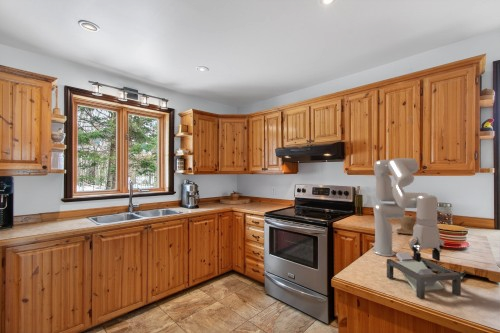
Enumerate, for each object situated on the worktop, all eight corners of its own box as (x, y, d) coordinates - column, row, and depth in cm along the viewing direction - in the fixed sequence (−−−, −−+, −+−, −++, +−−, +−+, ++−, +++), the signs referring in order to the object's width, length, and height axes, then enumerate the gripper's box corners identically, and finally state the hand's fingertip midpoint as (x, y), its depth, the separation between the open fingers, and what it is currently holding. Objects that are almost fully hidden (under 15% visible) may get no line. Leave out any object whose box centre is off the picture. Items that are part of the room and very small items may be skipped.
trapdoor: (388, 255, 120) (390, 252, 118) (412, 254, 122) (414, 251, 120) (414, 292, 104) (416, 289, 103) (442, 289, 106) (444, 287, 105)
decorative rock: (469, 276, 110) (429, 265, 119) (468, 288, 111) (428, 277, 120) (465, 261, 125) (430, 252, 134) (464, 272, 125) (429, 262, 135)
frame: (386, 277, 117) (386, 259, 117) (421, 274, 120) (421, 257, 120) (420, 299, 98) (420, 277, 98) (460, 295, 100) (460, 274, 100)
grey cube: (415, 275, 109) (420, 269, 106) (424, 275, 110) (429, 268, 107) (423, 286, 105) (428, 279, 102) (432, 285, 106) (438, 279, 103)
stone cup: (413, 232, 197) (413, 214, 197) (419, 236, 186) (419, 217, 186) (393, 230, 202) (393, 213, 202) (397, 234, 190) (397, 216, 190)
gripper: (435, 219, 111) (435, 256, 111) (402, 221, 108) (402, 258, 108) (451, 223, 103) (451, 262, 103) (416, 225, 101) (416, 265, 101)
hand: (426, 260), depth 106 cm, fingers open, 9 cm apart
